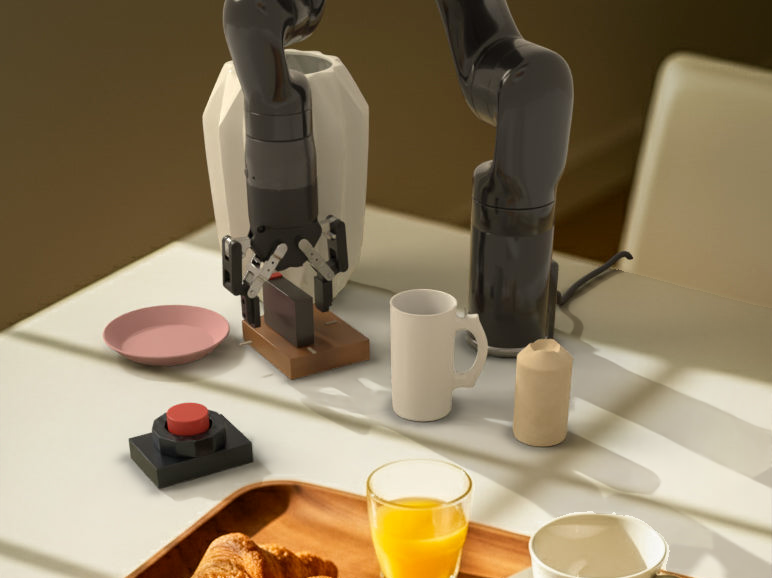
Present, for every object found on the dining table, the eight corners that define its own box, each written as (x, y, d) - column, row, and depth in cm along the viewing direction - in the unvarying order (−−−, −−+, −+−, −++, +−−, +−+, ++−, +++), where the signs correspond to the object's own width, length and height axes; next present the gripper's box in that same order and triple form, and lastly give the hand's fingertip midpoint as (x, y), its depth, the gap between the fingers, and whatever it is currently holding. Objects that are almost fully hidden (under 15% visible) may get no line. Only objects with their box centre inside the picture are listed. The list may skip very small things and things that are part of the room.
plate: (83, 365, 150) (81, 348, 149) (135, 314, 162) (133, 299, 160) (204, 379, 147) (202, 363, 146) (248, 327, 159) (247, 311, 158)
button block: (222, 432, 137) (220, 397, 135) (253, 462, 132) (251, 426, 130) (130, 457, 133) (126, 422, 131) (158, 489, 128) (154, 452, 126)
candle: (563, 450, 135) (570, 358, 129) (509, 444, 136) (514, 353, 130) (569, 424, 139) (576, 335, 134) (516, 418, 140) (521, 330, 135)
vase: (404, 291, 168) (405, 64, 153) (282, 336, 157) (270, 96, 142) (305, 249, 180) (296, 34, 164) (184, 287, 169) (163, 61, 153)
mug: (385, 421, 140) (385, 313, 133) (393, 391, 145) (393, 287, 139) (482, 427, 139) (487, 319, 132) (486, 397, 144) (491, 292, 138)
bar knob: (314, 343, 149) (313, 295, 146) (297, 348, 148) (295, 299, 145) (281, 318, 155) (278, 271, 152) (264, 322, 154) (261, 274, 151)
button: (199, 414, 133) (197, 398, 132) (216, 431, 130) (215, 415, 129) (161, 424, 131) (159, 408, 130) (178, 441, 128) (176, 425, 127)
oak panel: (318, 321, 160) (317, 300, 159) (370, 359, 152) (370, 338, 150) (218, 345, 155) (216, 324, 153) (266, 387, 146) (264, 364, 145)
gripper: (235, 197, 136) (245, 344, 145) (358, 173, 142) (360, 316, 151) (204, 176, 141) (216, 319, 150) (324, 154, 148) (328, 293, 157)
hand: (288, 317), depth 151 cm, fingers open, 8 cm apart
